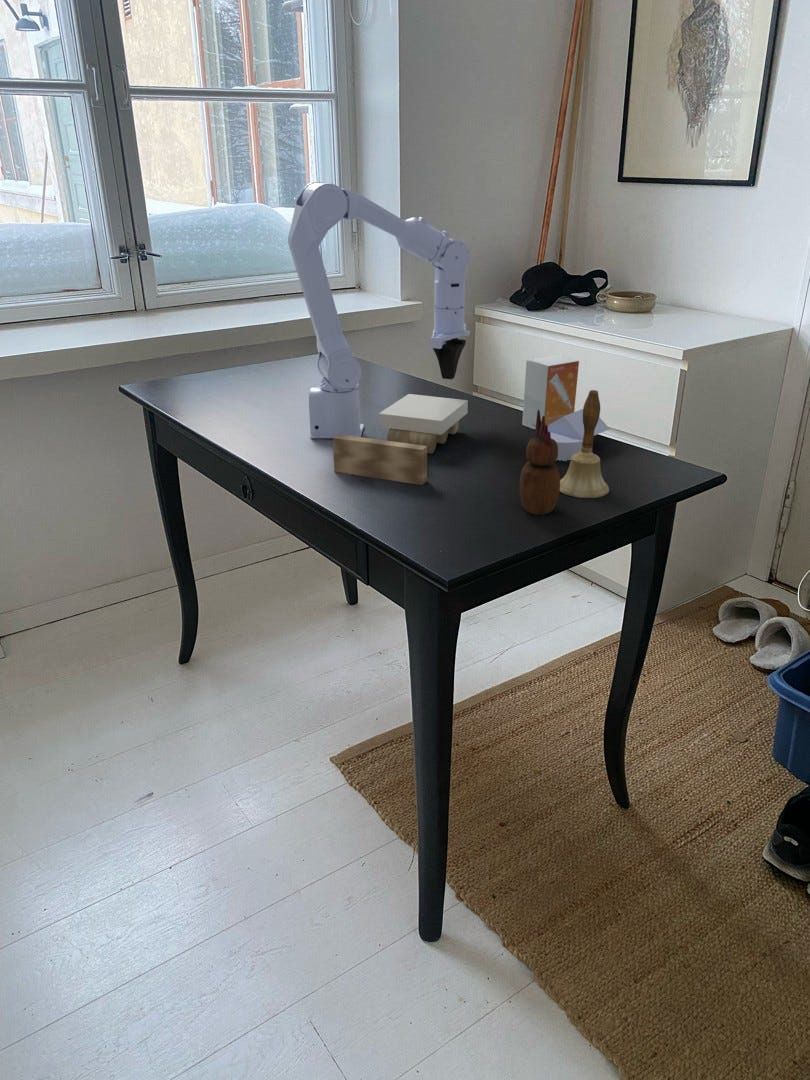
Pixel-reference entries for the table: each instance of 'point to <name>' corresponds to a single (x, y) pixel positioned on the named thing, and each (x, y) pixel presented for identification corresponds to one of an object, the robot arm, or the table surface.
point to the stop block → (380, 459)
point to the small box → (549, 389)
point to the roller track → (420, 437)
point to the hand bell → (586, 458)
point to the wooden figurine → (540, 472)
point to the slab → (423, 414)
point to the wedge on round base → (571, 434)
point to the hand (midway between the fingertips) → (448, 378)
